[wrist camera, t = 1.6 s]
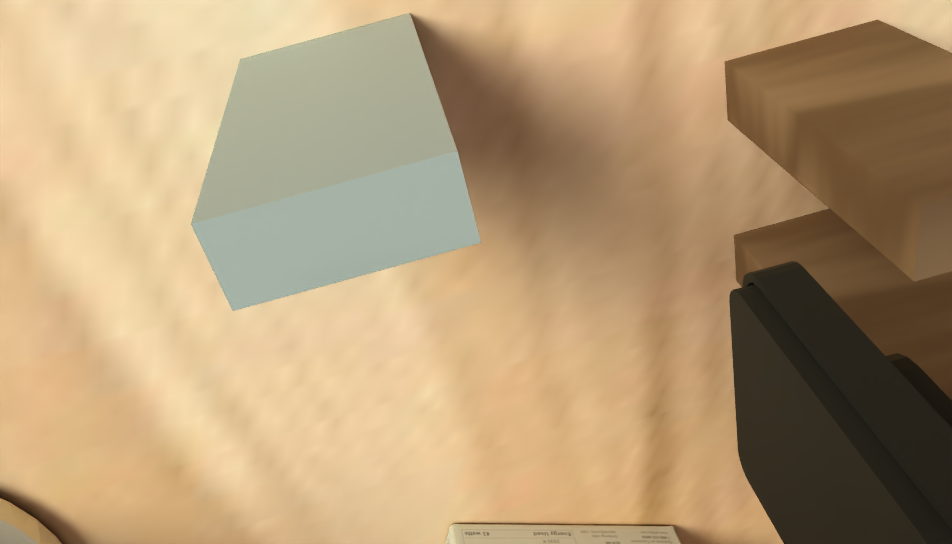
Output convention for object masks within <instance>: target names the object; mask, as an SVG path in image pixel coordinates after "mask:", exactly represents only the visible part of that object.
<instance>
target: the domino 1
mask: <svg viewBox="0 0 952 544" xmlns="http://www.w3.org/2000/svg"><path fill="white" fill-rule="evenodd" d="M191 225H192V227H193V230H194V232H195V234H196V236H197V238H198V240H199V242H200V244H201V246H202V248H203V250H204V252H205V254H206V257H207V259H208V261H209V263H210V265H211V267H212V269H213V271H214V273H215V275H216V277H217V279H218V281H219V283H220V286H221V288H222V290H223V292H224V294H225V296H226V298H227V300H228V302H229V304H230V306H231V308H232V310H233V311H235V310H239V309H242V308H246V307H249V306H253V305H257V304H260V303H264V302H268V301H271V300H275V299H278V298H282V297H286V296H289V295H293V294H297V293H300V292H304V291H307V290H311V289H315V288H318V287H322V286H326V285H329V284H333V283H336V282H340V281H344V280H347V279H351V278H355V277H358V276H362V275H365V274H369V273H373V272H376V271H380V270H384V269H387V268H391V267H394V266H398V265H402V264H405V263H409V262H413V261H416V260H420V259H423V258H427V257H431V256H434V255H438V254H442V253H445V252H449V251H452V250H456V249H460V248H463V247H467V246H471V245H474V244H478V243H481V241H480V237H479V233H478V229H477V225H476V221H475V217H474V213H473V210H472V206H471V202H470V198H469V194H468V190H467V186H466V182H465V178H464V174H463V171H462V167H461V163H460V159H459V155H458V151H457V148H456V145H455V142H454V139H453V137H452V134H451V131H450V128H449V125H448V122H447V119H446V116H445V113H444V111H443V108H442V105H441V102H440V99H439V96H438V93H437V90H436V87H435V84H434V82H433V79H432V76H431V73H430V70H429V67H428V64H427V61H426V58H425V55H424V53H423V50H422V47H421V44H420V41H419V38H418V35H417V32H416V29H415V26H414V24H413V21H412V18H411V15H410V13H409V14H405V15H402V16H398V17H394V18H390V19H387V20H383V21H379V22H376V23H372V24H368V25H365V26H361V27H357V28H354V29H350V30H346V31H343V32H339V33H335V34H332V35H328V36H324V37H321V38H317V39H313V40H309V41H306V42H302V43H298V44H295V45H291V46H287V47H284V48H280V49H276V50H273V51H269V52H265V53H262V54H258V55H254V56H251V57H247V58H243V59H240V62H239V65H238V69H237V72H236V75H235V79H234V82H233V85H232V89H231V92H230V95H229V99H228V102H227V105H226V109H225V112H224V115H223V119H222V122H221V125H220V129H219V132H218V135H217V139H216V142H215V145H214V149H213V152H212V155H211V159H210V162H209V165H208V169H207V172H206V175H205V179H204V182H203V185H202V189H201V192H200V195H199V199H198V202H197V205H196V209H195V212H194V215H193V219H192V222H191Z"/></svg>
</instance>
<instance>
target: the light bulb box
mask: <svg viewBox="0 0 952 544" xmlns="http://www.w3.org/2000/svg"><path fill="white" fill-rule="evenodd" d="M446 544H682V543H681V540H680V538H679V536H678V534H677V532H676V529H675V527H674V526H672V525H671V526H598V525H513V524H452V525H451V526H450V529H449V532H448V536H447V540H446Z"/></svg>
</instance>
